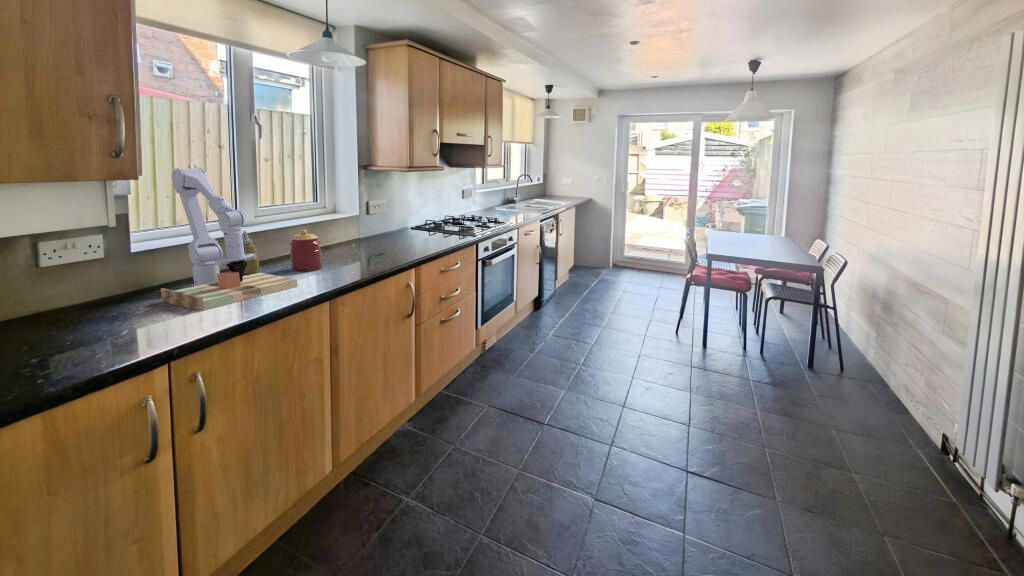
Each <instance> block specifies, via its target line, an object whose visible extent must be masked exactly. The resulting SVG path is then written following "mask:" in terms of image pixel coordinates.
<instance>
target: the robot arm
mask: <svg viewBox="0 0 1024 576" xmlns="http://www.w3.org/2000/svg"><path fill="white" fill-rule="evenodd" d="M171 180H172V183H173V187H174V190H175V192H176V194H179V197H180V200H181V204H182V205H183V206H182V207H183V209H184V213H185V216H186V219H187V222H188V225H189V228H190V229H189V230H190V231H191V234H192V237H193V239H192V240H191V241H190V243H189V244H188V245H187V249H188V256H189V257H188V258H189V260H190V261H191V262H192V263H193V266H192V270H191V271H192V276H193V284H192V285H191V287H193V286H198V285H203V284H208V283H213V282H217V281H218V280H217V274H219V273H221V271H220V266H224V265H226V266H227V268H228V269H229V270H230V271H232V272H238V273H239V277H240V282H242V280H243V276H244V275H245V274H244V270H245V268H246V266H247V262H245V261H246V260H251V259H256V254H244V246H243V238H242V237H243V231H242V226H243V225H244V223H245V222H244V221H245V218H244V214H243V213H242V211H241V210H239V209H236V208H233V206H231V205H230V203H229V202H228V201H227V200H226V199H225V197H224V196H221V195H218V194H217V192H216V191H215V189H214V187H212V185H211V183H210V182H209V174H208V173H207V172H206V170H205V169H204V168H201V167H199V168H174V169H173V171H172V174H171ZM198 194H201V195H203V196H204V197H205V198H206V200H207V205H208V207H209V208H210V210H211V211H212V212H213V213H214V214H215V215H216V216H217V223H218V225H219V226H220V230H221V233H223V239H224V246H225V247H224V248H225V253H226V254H225V256H226V257H223V255H224V254H223V253H224V252H223V249H222V247H221V246H220V245H219V242H218V239H215V238H213V237H211V236H210V233H209V232H208V227H207V224H206V222H205V218H204V215H203V212H202V208H201V205H200V202H199V199H198Z"/></svg>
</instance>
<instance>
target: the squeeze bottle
mask: <svg viewBox="0 0 1024 576" xmlns="http://www.w3.org/2000/svg"><path fill="white" fill-rule="evenodd" d="M242 238H243V246H244V254H256V259H251V260H246V261H245V262H247V266H246V268H245V270H244V274H243V275H251V274H256V273H259V272H258V271H259V268H260V260H259V256H258V251H257V248H256V245H255V244H253V239H251V238H249V235H248V232H247V231H246V230H243V231H242Z"/></svg>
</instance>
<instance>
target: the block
mask: <svg viewBox="0 0 1024 576" xmlns="http://www.w3.org/2000/svg"><path fill="white" fill-rule="evenodd" d="M217 280H218V286H219V288H223V289H231V288H235V287H240V286H241V284H240V277H239V273H238V272H232V271H231V270H230V271H224V272H220V273H219V274H217Z"/></svg>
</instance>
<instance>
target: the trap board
mask: <svg viewBox="0 0 1024 576" xmlns="http://www.w3.org/2000/svg"><path fill="white" fill-rule="evenodd" d="M240 284H241V286H240V287H235V288H231V289H223V288H219V286H218V281H217V282H213V283H208V284H203V285H198V286H194V287H193V286H190V287H185V288H181V289H175V290H172V289H168V288H160V295H161V300H162V303H165V304H166V303H167V304H171V305H175V306H178V307H182V306H183V307H184V308H187V309H191V310H195V311H199V312H202V311H206V310H211V309H215V308H219V307H223V306H226V305H231V304H234V303H238V302H242V301H246V300H250V299H254V298H258V297H262V296H266V295H271V294H274V293H278V292H281V291H286V290H290V289H293V288H298V286H299V285H298V279H297V278H293V277H288V276H287V277H286V276H281V275H276V274H269V273H264V272H257V273H254V274H245V275H243V280H242V282H240Z"/></svg>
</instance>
